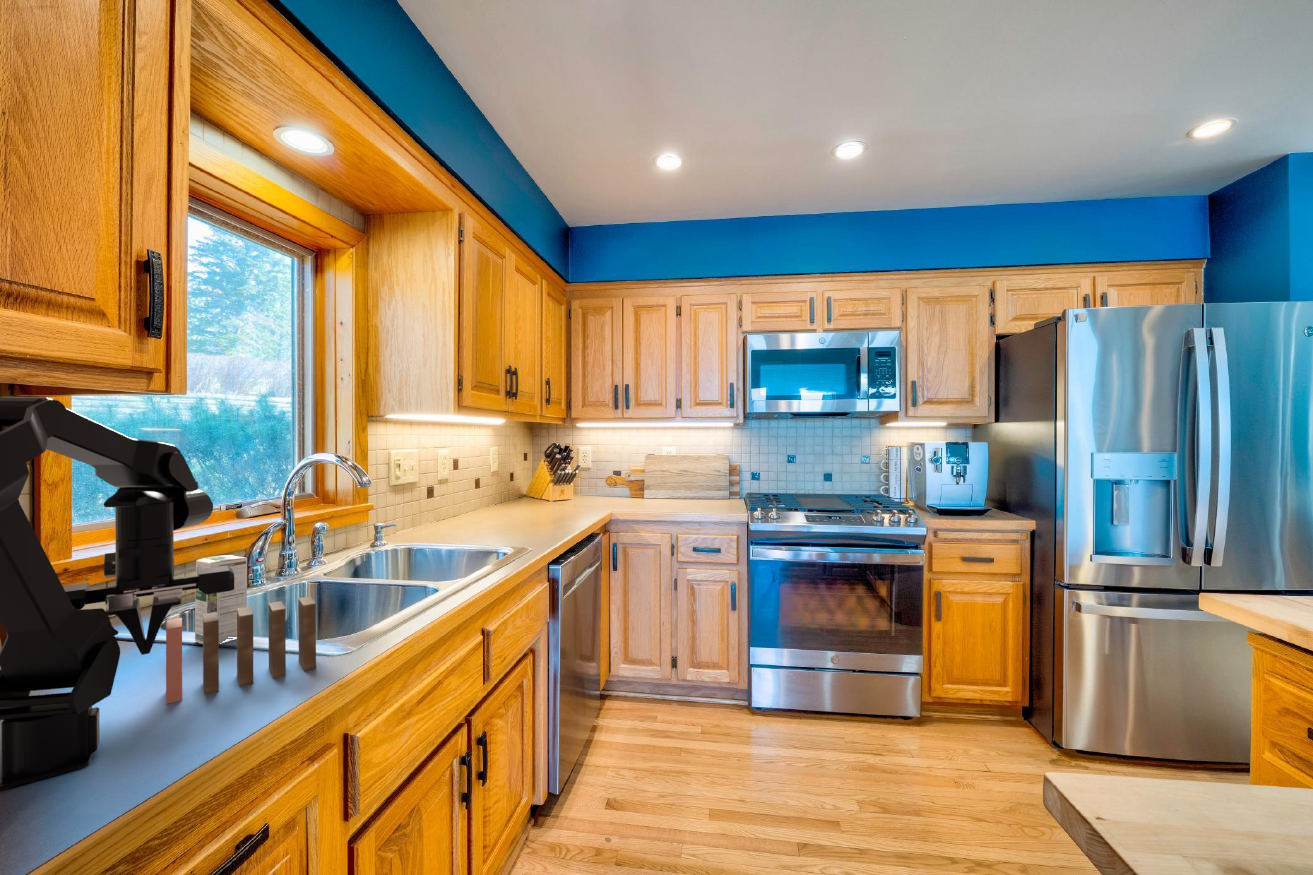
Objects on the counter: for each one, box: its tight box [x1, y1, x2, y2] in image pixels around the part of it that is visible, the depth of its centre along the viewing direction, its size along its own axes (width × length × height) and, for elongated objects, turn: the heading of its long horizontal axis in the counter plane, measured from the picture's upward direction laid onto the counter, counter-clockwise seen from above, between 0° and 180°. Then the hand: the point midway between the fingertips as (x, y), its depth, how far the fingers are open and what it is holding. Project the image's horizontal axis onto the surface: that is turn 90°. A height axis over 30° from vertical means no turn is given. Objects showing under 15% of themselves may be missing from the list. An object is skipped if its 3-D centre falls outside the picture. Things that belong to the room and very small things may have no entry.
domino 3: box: [236, 606, 254, 688], centre depth 80 cm, size 2×5×10 cm, turn 41°
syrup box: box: [194, 554, 248, 645], centre depth 97 cm, size 6×6×14 cm
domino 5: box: [297, 596, 317, 672], centre depth 86 cm, size 2×5×10 cm, turn 41°
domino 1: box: [165, 617, 183, 705], centre depth 75 cm, size 2×5×10 cm, turn 41°
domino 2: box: [202, 612, 220, 696], centre depth 78 cm, size 2×5×10 cm, turn 41°
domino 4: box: [268, 600, 287, 679], centre depth 83 cm, size 2×5×10 cm, turn 41°
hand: (145, 653), depth 74 cm, fingers closed
